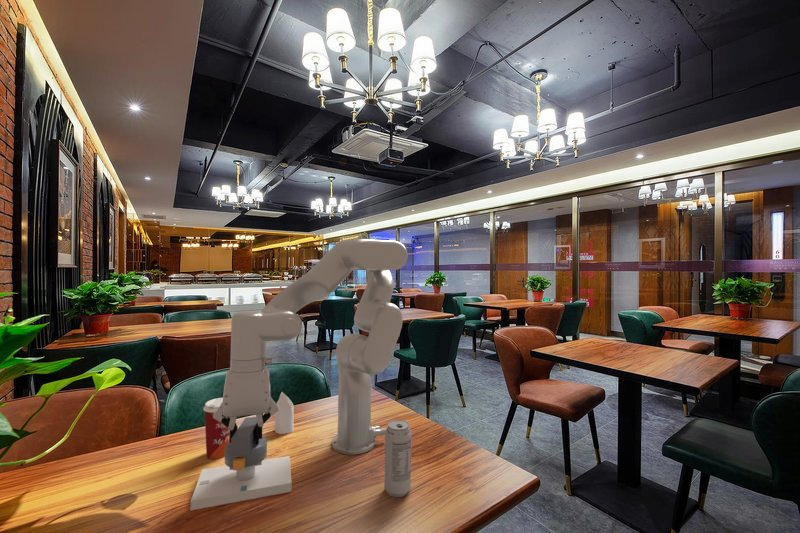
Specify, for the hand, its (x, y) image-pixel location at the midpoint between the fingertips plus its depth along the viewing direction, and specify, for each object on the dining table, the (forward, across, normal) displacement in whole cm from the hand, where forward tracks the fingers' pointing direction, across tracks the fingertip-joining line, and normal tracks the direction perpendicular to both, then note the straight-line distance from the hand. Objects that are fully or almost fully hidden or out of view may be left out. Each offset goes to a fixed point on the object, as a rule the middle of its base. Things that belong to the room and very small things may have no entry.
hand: (246, 442), depth 81 cm
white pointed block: (+10, -9, -26) cm, 29 cm away
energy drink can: (+10, -33, +13) cm, 37 cm away
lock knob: (+4, 0, 0) cm, 4 cm away
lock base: (+10, 0, 0) cm, 10 cm away
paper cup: (+10, +8, -17) cm, 21 cm away
